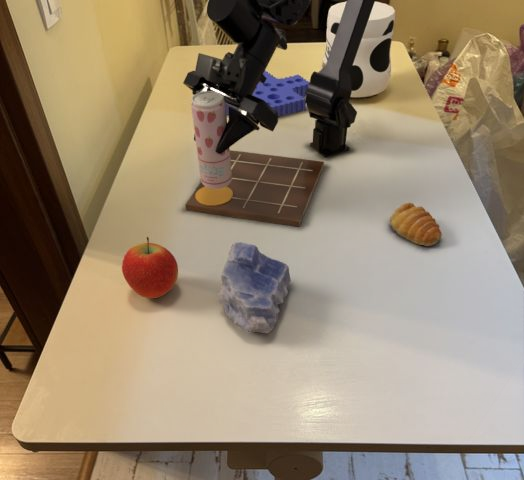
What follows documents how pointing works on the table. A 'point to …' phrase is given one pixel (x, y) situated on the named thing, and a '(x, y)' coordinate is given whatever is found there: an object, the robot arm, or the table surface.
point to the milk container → (367, 50)
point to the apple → (150, 269)
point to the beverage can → (211, 138)
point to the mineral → (253, 288)
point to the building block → (281, 93)
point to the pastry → (415, 225)
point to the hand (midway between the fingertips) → (206, 147)
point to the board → (262, 189)
